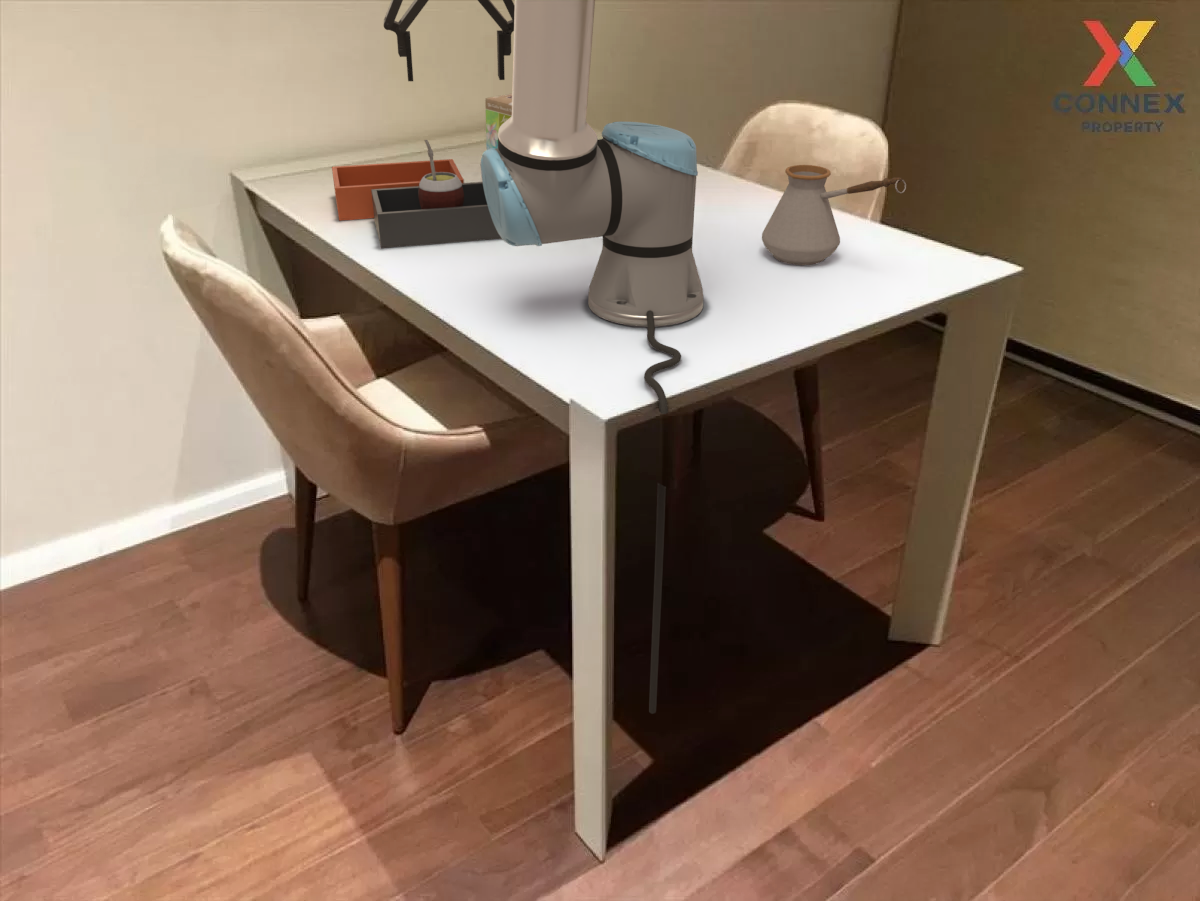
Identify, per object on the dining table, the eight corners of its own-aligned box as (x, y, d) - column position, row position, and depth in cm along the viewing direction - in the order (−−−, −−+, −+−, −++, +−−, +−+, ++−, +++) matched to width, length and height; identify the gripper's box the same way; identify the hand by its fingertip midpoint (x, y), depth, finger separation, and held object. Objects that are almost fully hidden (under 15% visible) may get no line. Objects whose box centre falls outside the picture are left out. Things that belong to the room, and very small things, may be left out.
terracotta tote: (465, 211, 173) (463, 179, 170) (339, 220, 169) (335, 188, 166) (454, 189, 184) (452, 158, 181) (335, 197, 179) (331, 166, 177)
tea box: (524, 193, 182) (522, 106, 175) (486, 181, 188) (482, 97, 180) (583, 175, 192) (583, 92, 184) (545, 165, 198) (543, 84, 190)
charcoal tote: (515, 237, 162) (514, 204, 159) (381, 248, 157) (377, 214, 155) (500, 212, 173) (499, 180, 170) (374, 221, 168) (371, 189, 165)
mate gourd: (453, 217, 169) (447, 123, 162) (475, 230, 164) (470, 133, 156) (411, 224, 166) (402, 129, 158) (432, 238, 160) (425, 140, 153)
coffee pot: (744, 255, 155) (752, 154, 148) (792, 238, 162) (802, 141, 155) (864, 295, 142) (879, 187, 134) (910, 275, 149) (928, 170, 141)
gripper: (534, -82, 150) (535, 70, 162) (358, -83, 146) (371, 72, 158) (541, -74, 144) (541, 83, 156) (357, -75, 140) (371, 86, 152)
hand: (456, 78), depth 157 cm, fingers open, 13 cm apart
